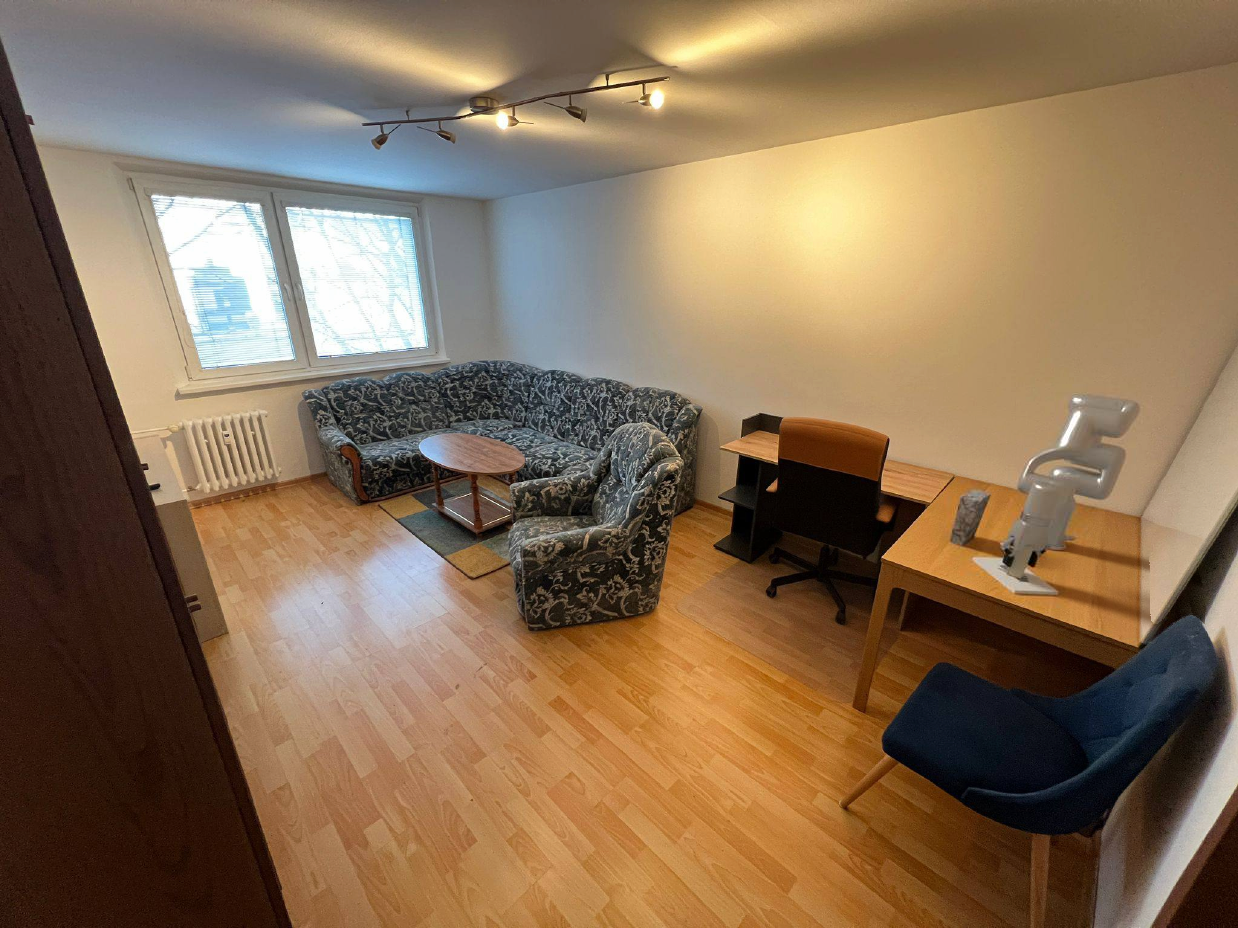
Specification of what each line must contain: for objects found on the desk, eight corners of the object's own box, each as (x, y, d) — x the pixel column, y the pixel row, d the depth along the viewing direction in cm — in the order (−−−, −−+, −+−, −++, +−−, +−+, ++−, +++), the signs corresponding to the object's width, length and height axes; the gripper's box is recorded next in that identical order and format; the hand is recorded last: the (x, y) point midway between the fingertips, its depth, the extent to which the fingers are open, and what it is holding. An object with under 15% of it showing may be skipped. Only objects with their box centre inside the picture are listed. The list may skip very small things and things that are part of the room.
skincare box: (1008, 566, 166) (1019, 536, 161) (1024, 572, 163) (1036, 541, 158) (1005, 573, 162) (1016, 543, 157) (1021, 579, 159) (1033, 548, 154)
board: (1011, 561, 172) (1012, 558, 172) (1057, 594, 154) (1058, 591, 153) (972, 559, 172) (973, 556, 172) (1013, 593, 154) (1015, 590, 153)
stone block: (967, 548, 180) (983, 501, 173) (946, 541, 185) (961, 495, 178) (977, 537, 188) (992, 491, 181) (956, 531, 193) (970, 486, 186)
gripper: (1052, 514, 158) (1034, 559, 165) (1000, 513, 158) (984, 558, 165) (1072, 524, 151) (1052, 571, 158) (1017, 523, 151) (1000, 570, 158)
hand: (1018, 564), depth 161 cm, fingers closed on skincare box, 7 cm apart
